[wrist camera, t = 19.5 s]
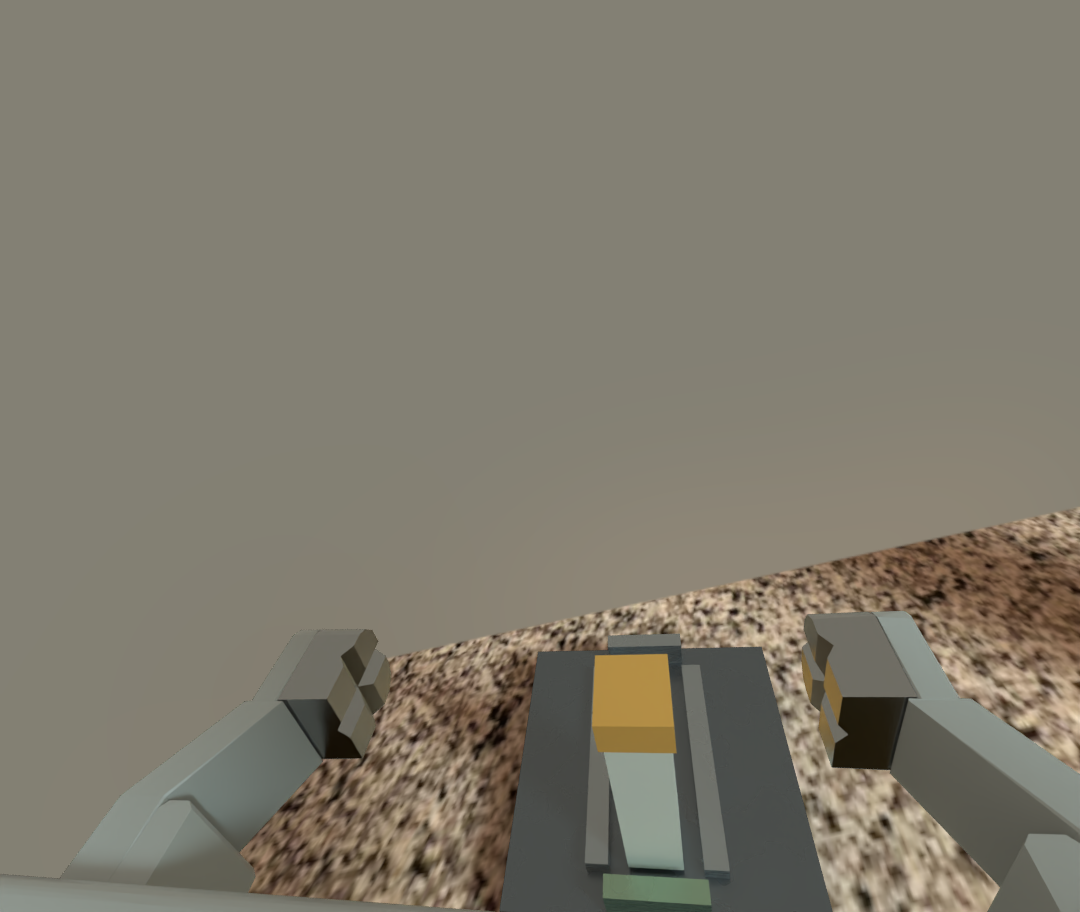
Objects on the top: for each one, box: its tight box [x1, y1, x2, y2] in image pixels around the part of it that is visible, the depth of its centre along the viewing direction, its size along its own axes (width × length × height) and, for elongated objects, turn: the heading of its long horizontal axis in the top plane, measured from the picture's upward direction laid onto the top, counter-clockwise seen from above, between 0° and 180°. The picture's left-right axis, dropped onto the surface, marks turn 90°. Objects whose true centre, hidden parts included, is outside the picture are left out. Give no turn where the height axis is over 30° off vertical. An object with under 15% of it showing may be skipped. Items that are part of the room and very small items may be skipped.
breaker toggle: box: [592, 654, 684, 870], centre depth 26 cm, size 3×3×12 cm
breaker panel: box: [500, 634, 832, 912], centre depth 33 cm, size 16×16×5 cm
